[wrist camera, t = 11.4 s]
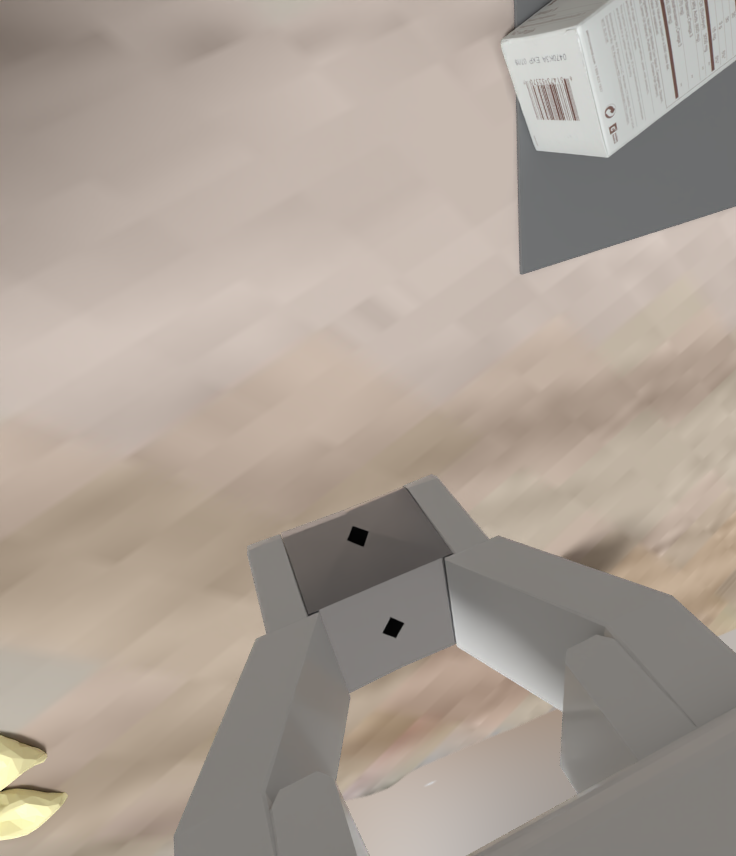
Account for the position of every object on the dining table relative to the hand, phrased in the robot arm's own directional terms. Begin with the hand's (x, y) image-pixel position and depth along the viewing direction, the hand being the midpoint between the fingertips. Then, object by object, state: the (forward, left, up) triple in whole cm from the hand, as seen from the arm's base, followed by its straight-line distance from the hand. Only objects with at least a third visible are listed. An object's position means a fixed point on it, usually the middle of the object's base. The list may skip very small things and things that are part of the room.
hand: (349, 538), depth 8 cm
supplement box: (+15, +16, -25) cm, 33 cm away
